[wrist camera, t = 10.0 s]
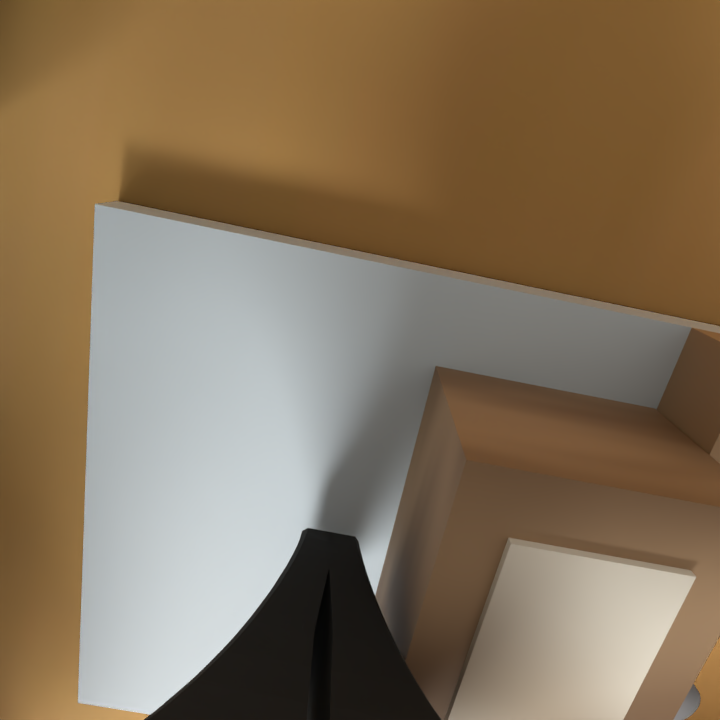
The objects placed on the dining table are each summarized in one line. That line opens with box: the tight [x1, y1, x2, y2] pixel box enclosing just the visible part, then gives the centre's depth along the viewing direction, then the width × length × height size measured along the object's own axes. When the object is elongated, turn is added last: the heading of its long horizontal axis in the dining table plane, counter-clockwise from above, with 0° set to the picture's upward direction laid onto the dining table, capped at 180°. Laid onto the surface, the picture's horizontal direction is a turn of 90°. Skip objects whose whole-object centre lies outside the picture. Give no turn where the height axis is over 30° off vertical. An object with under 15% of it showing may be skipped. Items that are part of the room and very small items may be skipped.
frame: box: [375, 366, 720, 720], centre depth 12 cm, size 10×5×4 cm, turn 169°
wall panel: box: [78, 201, 720, 720], centre depth 13 cm, size 14×14×4 cm
